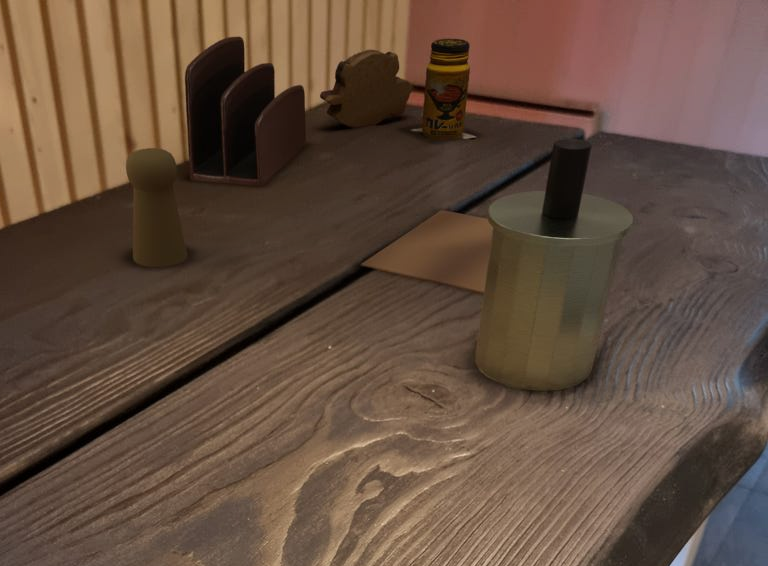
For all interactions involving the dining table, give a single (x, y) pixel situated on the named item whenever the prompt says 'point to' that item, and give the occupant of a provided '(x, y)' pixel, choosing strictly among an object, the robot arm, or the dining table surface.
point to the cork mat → (441, 251)
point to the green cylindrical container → (543, 312)
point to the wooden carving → (367, 89)
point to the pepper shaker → (155, 209)
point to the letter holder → (239, 118)
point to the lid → (562, 206)
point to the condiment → (446, 90)
